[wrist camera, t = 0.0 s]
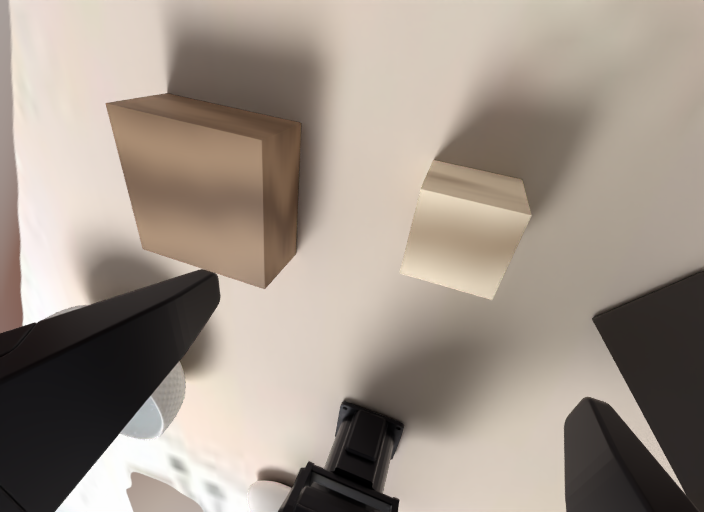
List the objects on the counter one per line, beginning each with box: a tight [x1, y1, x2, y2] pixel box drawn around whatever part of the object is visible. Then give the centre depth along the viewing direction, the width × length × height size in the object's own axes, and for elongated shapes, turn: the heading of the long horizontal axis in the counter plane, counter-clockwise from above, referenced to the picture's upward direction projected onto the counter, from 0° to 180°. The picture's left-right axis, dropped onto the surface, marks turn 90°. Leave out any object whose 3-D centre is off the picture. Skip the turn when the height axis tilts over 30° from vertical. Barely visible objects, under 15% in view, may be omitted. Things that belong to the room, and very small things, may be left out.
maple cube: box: [400, 160, 532, 300], centre depth 19 cm, size 5×5×5 cm
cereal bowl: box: [45, 305, 186, 440], centre depth 39 cm, size 17×17×7 cm
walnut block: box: [106, 93, 301, 289], centre depth 24 cm, size 10×10×5 cm
